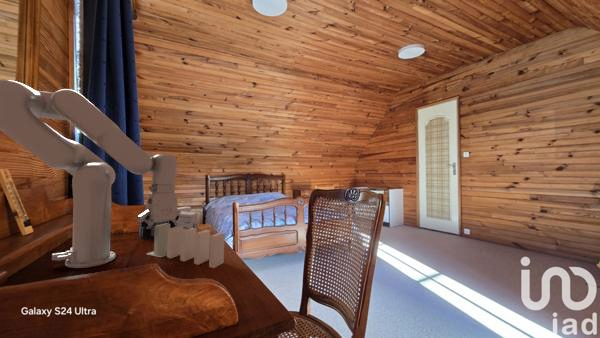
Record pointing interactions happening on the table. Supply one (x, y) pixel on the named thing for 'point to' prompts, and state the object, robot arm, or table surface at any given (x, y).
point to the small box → (150, 227)
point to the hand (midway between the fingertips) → (158, 236)
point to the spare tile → (161, 238)
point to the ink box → (187, 220)
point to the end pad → (157, 255)
